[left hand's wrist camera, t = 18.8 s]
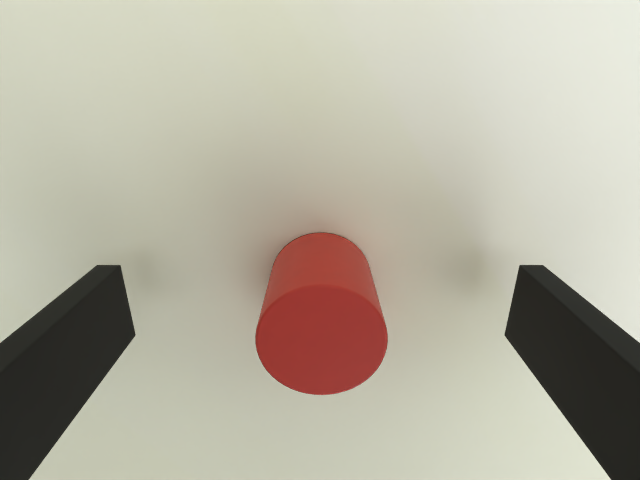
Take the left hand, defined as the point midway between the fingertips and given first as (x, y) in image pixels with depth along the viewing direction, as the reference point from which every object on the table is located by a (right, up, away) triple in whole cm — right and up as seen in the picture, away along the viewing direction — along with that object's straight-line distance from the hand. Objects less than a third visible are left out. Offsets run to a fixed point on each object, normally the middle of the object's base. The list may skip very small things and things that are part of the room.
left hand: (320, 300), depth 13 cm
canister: (0, +1, +2) cm, 2 cm away
